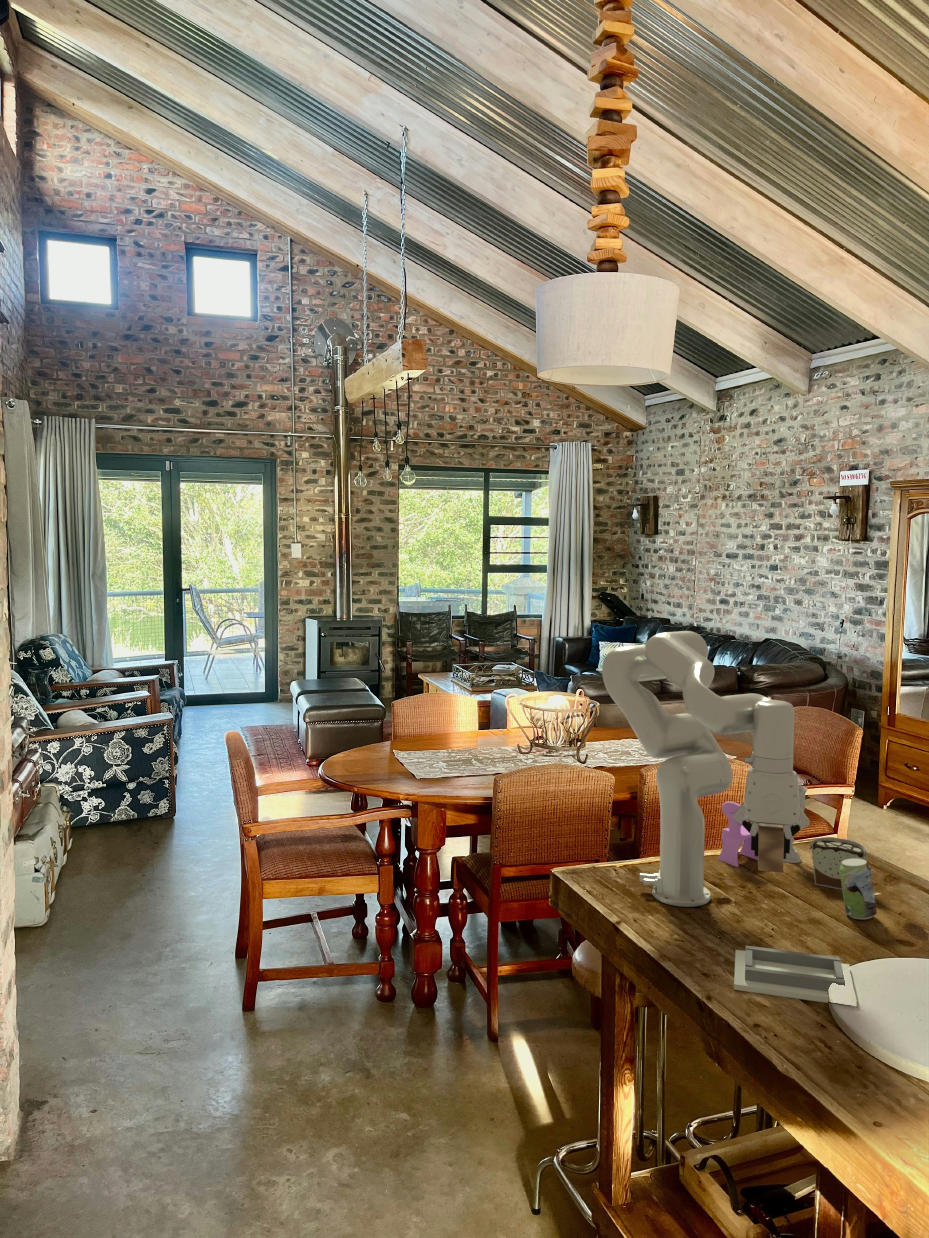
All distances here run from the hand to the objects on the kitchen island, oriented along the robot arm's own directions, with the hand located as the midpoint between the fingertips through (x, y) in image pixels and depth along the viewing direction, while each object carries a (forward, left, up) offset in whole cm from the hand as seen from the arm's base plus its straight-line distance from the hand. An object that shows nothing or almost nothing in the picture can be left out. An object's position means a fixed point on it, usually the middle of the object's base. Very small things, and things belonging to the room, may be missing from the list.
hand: (770, 854), depth 177 cm
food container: (+16, +35, -17) cm, 42 cm away
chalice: (+6, +49, -17) cm, 52 cm away
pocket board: (+4, -16, -17) cm, 24 cm away
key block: (0, 0, -1) cm, 1 cm away
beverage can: (+18, +17, -17) cm, 30 cm away
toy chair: (-6, +45, -18) cm, 49 cm away
